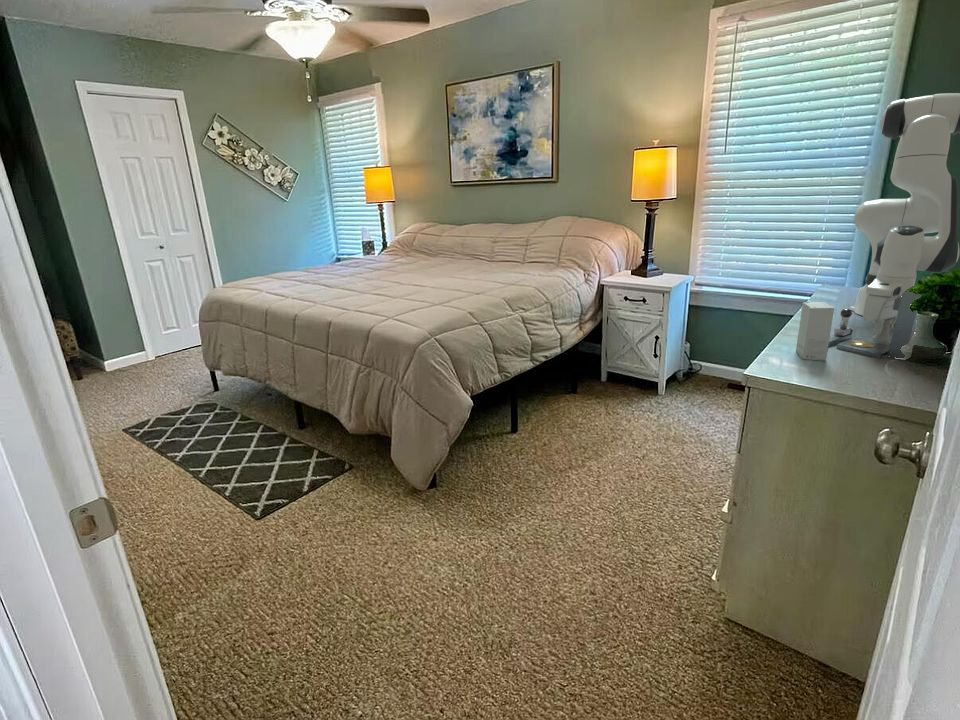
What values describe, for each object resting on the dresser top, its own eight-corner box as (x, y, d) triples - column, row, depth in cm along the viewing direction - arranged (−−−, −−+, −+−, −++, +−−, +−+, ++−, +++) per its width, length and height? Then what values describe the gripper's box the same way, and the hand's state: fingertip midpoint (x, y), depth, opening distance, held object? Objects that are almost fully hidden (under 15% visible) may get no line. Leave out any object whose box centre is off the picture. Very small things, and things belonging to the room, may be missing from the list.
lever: (840, 331, 157) (845, 306, 154) (850, 333, 155) (855, 308, 152) (833, 333, 155) (838, 309, 152) (843, 335, 153) (848, 310, 150)
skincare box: (826, 361, 139) (837, 308, 134) (801, 359, 141) (810, 307, 136) (817, 351, 146) (827, 301, 141) (793, 350, 148) (802, 300, 143)
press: (840, 336, 158) (852, 279, 152) (920, 353, 141) (937, 290, 135) (813, 345, 151) (825, 285, 145) (894, 364, 134) (910, 298, 128)
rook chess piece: (866, 341, 152) (872, 316, 150) (880, 340, 153) (886, 315, 150) (879, 346, 148) (885, 319, 146) (893, 345, 149) (899, 318, 146)
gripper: (898, 278, 152) (887, 323, 157) (863, 288, 143) (852, 335, 147) (924, 282, 147) (912, 327, 151) (889, 292, 137) (877, 340, 142)
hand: (882, 331), depth 149 cm, fingers open, 4 cm apart
